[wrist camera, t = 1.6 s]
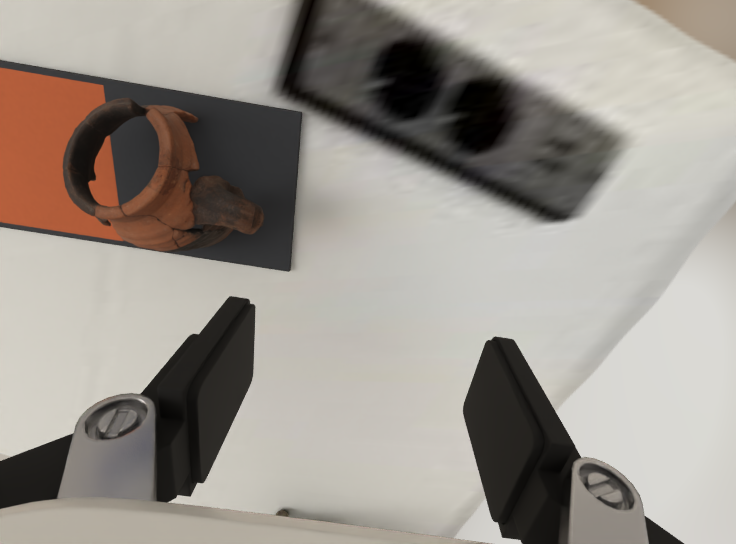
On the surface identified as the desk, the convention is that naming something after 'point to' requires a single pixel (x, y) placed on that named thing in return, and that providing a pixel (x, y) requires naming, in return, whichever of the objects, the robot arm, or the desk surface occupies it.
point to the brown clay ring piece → (158, 184)
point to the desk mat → (142, 159)
